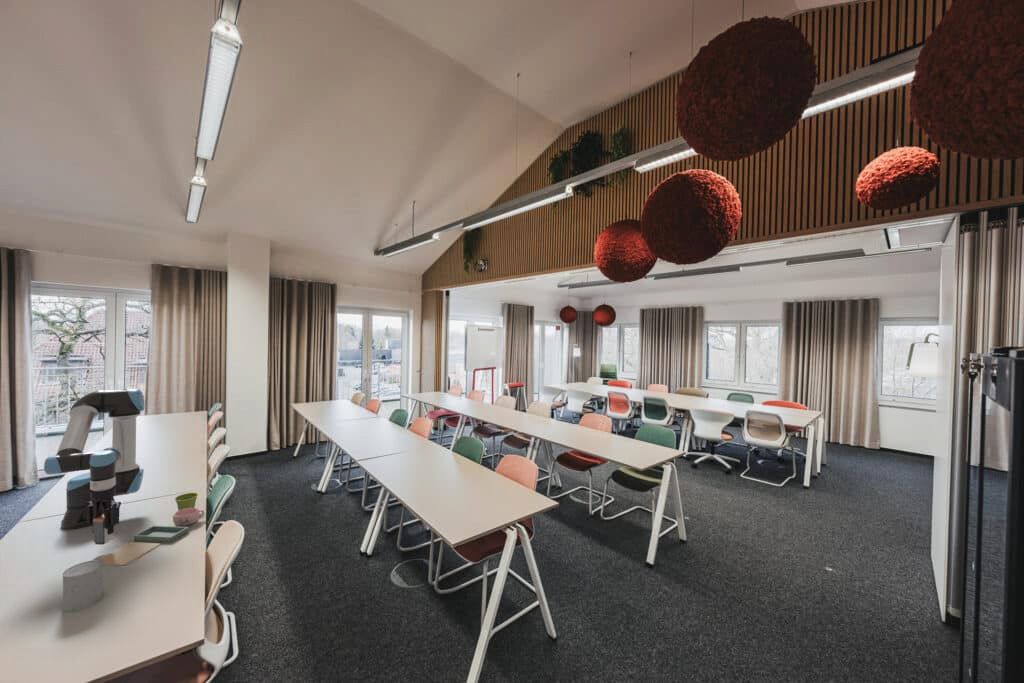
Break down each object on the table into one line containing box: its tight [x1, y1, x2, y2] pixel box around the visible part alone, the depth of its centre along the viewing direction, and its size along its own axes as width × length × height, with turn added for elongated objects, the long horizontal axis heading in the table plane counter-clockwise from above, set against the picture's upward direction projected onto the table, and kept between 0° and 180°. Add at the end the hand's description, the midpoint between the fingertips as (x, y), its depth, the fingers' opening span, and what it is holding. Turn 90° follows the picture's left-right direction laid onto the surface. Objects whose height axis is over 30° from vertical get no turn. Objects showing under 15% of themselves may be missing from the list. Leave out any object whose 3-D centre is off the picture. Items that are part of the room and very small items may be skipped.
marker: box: [93, 514, 106, 545], centre depth 166 cm, size 4×4×11 cm
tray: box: [133, 525, 189, 544], centre depth 179 cm, size 17×9×2 cm, turn 89°
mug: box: [172, 507, 205, 527], centre depth 192 cm, size 12×10×6 cm
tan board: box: [97, 541, 162, 567], centre depth 165 cm, size 14×16×1 cm
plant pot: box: [174, 492, 199, 512], centre depth 202 cm, size 9×9×9 cm
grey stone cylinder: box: [62, 559, 104, 613], centre depth 136 cm, size 10×10×12 cm
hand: (103, 540), depth 166 cm, fingers closed on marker, 4 cm apart
